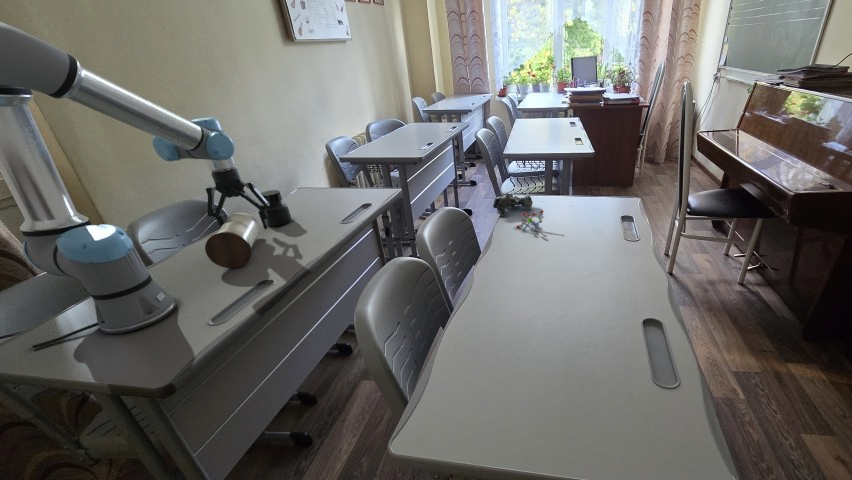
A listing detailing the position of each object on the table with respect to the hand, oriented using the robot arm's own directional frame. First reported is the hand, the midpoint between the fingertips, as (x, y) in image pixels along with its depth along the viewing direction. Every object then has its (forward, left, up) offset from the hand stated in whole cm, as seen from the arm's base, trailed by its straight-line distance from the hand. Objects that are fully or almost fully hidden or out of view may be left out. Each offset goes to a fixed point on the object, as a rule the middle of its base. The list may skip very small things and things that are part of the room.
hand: (247, 230), depth 141 cm
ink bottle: (+8, +13, -3) cm, 16 cm away
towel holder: (0, -9, -3) cm, 10 cm away
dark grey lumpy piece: (+95, -16, -3) cm, 96 cm away
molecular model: (+94, -34, -3) cm, 100 cm away
